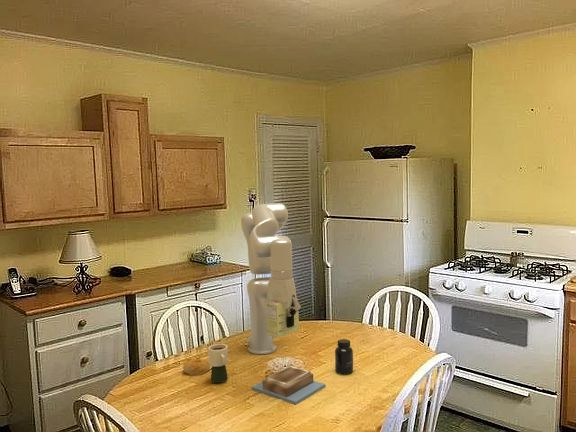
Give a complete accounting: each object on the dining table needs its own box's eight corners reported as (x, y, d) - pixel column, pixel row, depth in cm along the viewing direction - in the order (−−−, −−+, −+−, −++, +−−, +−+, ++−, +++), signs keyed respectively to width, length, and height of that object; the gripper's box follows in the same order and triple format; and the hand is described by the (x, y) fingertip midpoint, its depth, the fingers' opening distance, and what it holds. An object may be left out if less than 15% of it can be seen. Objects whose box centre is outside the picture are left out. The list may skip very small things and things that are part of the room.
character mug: (234, 383, 183) (232, 349, 182) (216, 388, 179) (214, 353, 178) (222, 374, 192) (221, 341, 191) (204, 378, 188) (203, 344, 187)
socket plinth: (262, 389, 175) (262, 378, 175) (289, 375, 187) (289, 364, 186) (287, 397, 168) (286, 385, 168) (313, 382, 180) (313, 371, 180)
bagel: (216, 369, 197) (215, 357, 197) (193, 379, 189) (193, 366, 189) (200, 364, 204) (199, 352, 203) (178, 373, 196) (177, 361, 195)
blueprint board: (251, 389, 177) (251, 386, 177) (282, 374, 190) (282, 371, 190) (296, 404, 165) (295, 401, 165) (325, 386, 178) (325, 384, 178)
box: (288, 328, 181) (287, 296, 180) (299, 331, 177) (298, 298, 176) (266, 335, 174) (265, 302, 173) (277, 338, 170) (276, 304, 169)
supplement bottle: (352, 375, 187) (352, 344, 186) (334, 374, 189) (333, 343, 188) (353, 368, 194) (353, 338, 193) (336, 367, 195) (335, 337, 194)
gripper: (256, 273, 177) (258, 323, 178) (294, 279, 165) (295, 332, 167) (270, 270, 182) (272, 318, 184) (308, 275, 171) (309, 326, 173)
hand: (283, 324), depth 175 cm, fingers closed on box, 6 cm apart
